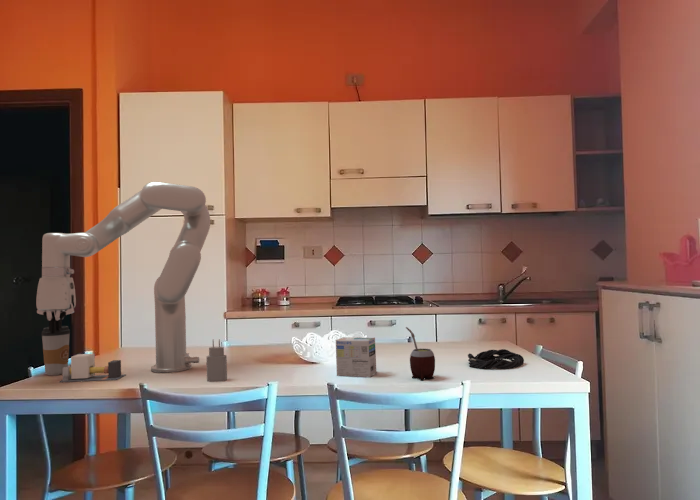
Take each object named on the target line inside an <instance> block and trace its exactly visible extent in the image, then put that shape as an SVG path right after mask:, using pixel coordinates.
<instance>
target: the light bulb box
mask: <svg viewBox="0 0 700 500" xmlns="http://www.w3.org/2000/svg"><path fill="white" fill-rule="evenodd" d="M376 353H377V351H376V337H361V336H360V337H354V336H353V337H349V336H348V337H346V336H345V337H344V336H342V337H340V338H337V339H335V357H336V358H335V359H336V365H335V366H336V376H338V377H360V378H364V377H365V378H371V377H372V376H373V375H375V374H376V373H377V354H376Z"/></svg>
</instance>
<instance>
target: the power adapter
mask: <svg viewBox="0 0 700 500" xmlns="http://www.w3.org/2000/svg"><path fill="white" fill-rule="evenodd" d="M214 340H215V339H212V346H210V347H208V352H209V353H208V355H207V356H206V381H207V382H208V383H210V382H212V383H214V382H216V383H217V382H219V383H220V382H225V381H227V380H228V366H227V365H228V364H227V363H228V362H227V361H228V360H227V359H228V358H227V354H225V347H224V346H221V343H220V342H221V340H220V339H218V346H215V344H214V342H215V341H214Z"/></svg>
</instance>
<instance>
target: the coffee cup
mask: <svg viewBox="0 0 700 500" xmlns="http://www.w3.org/2000/svg"><path fill="white" fill-rule="evenodd" d="M70 331H71V329H69V326H68V325H62V329H61V332H60V333H57V334H54V333H53V334H50V330H49V326H47V327H43V329H42V331H41V339H42V352H43V363H44V371H45V372H44V373H45V375H47V376H59V375H63V368H64V367H69V357H70V334H71V332H70Z"/></svg>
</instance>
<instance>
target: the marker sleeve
mask: <svg viewBox="0 0 700 500" xmlns="http://www.w3.org/2000/svg"><path fill="white" fill-rule="evenodd" d="M95 357H96V356H95V353H77V354H74V355H73V356H71V357H70V363H71V364H70V365H71V379H78V378H90V377H92V376H96V373H90V371H89V367H96V365H95V364H96V362H95V361H96V360H95Z"/></svg>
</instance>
